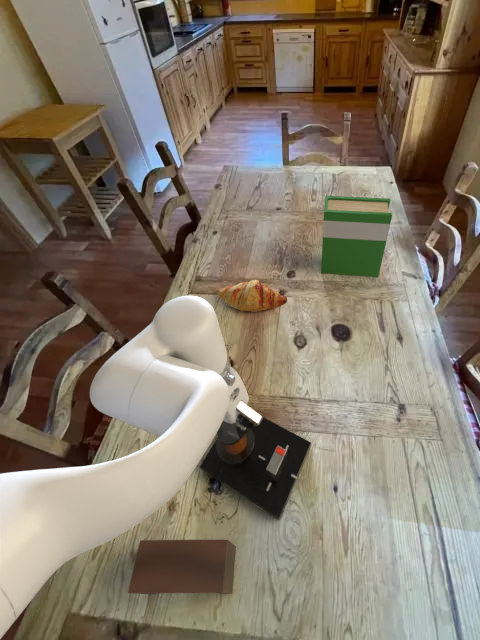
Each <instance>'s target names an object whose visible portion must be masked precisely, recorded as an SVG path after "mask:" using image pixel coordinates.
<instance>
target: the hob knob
mask: <svg viewBox="0 0 480 640" xmlns="http://www.w3.org/2000/svg"><path fill="white" fill-rule="evenodd" d="M287 459H288V458H287V450H285V449H283V448H281V447H280V446H277V447H276V450H275V452H274V454H273V456H272V458H271V460H270V462H269V464H268V466H267V468H266V471H267V474H268V477H270V478H272V479H273V480H275V481H278V478H279V476H280V474H281V472H282V470H283V467H284V465H285V463H286V461H287Z"/></svg>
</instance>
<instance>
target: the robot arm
mask: <svg viewBox="0 0 480 640" xmlns="http://www.w3.org/2000/svg"><path fill="white" fill-rule="evenodd" d="M89 400H90V403H91V404H92V406H93V407H94V409H96V410H97V411H98V412H100V413H101V414H103V415H105V416H108V417H110V418H113V419H115V420H117V421H120V422H123V423H125V424H127V425H130V426H131V427H132V426H133V427H134V428H136V429H137V428H138V429H140V430H143V431H144V432H147V433H149V434H152V435H154V436H157V438H156V439H155V440H153V441H152V442H150V443H149V444H148V445H146V446H144V447H142V448H141V449H139V450H136V451H134V452H132V453H130V454H128V455H125V456H122V457H119V458H116V459H113V460H109V461H105V462H100V463H94V464H89V465H83V466H82V465H81V466H71V467H70V466H69V467H57V468H43V469H42V468H41V469H32V470H31V469H30V470H21V471H12V472H11V471H10V472H2V473H0V640H1V639H2V638H3V637H4V635H6V633H7V632H8V631H9V630H10V628H11V627H12V625H13V624H14V623H15V622H16V620H17V619H18V618H19V617H20V615H21V614H23V612H24V611H25V609H26V608H27V607H28V606H29V604H30V603H31V601H32V600H33V599H34V598H35V596H36V595H37V594H38V592H39V591H40V590H41V589H42V587H44V585H45V584H46V583H47V581H48V580H49V579H50V578H51V577H52V576H53V574H54V573H55V572H56V571H58V570H59V568H61V567H62V566H63V565H65V564H66V563H67V562H68V561H70V560H72V559H73V558H76V557H78V556H80V555H82V554H84V553H86V552H89V551H91V550H94V549H96V548H99V547H100V546H102V545H105V544H107V543H109V542H110V541H112V540H114V539H116V538H118V537H120V536H122V535H123V534H125V533H127V532H128V531H130V530H132V529H133V528H134V527H137V526H138V525H139V524H141V523H143V522H144V521H145V520H147V519H148V518H149V517H151V516H152V515H154V514H155V513H156V512H158V511H159V510H160V509H161V508H163V507H164V506H165V505H166V504H167V503H169V501H170V500H171V499H172V498H174V497H175V496H176V495H177V493H179V491H180V490H181V489H182V488H183V487H184V485H186V483H187V481H188V480H189V478H190V477H191V476H192V474H193V473H194V471H195V469H196V467H198V464H199V463H200V461H201V460H202V458H203V456H204V455H205V453H206V452H207V451H208V449H209V447H210V446H211V444H212V442H213V441H214V439H215V437H216V435H217V432H218V430H219V428H220V426H221V424H222V422H223V421H225V422H227V423H230V424H233V423H234V424H235V425H236V426H237V427H236V430H237V433H238V435H239V437H240V438H243V437H244V435H245V433H247V434H248V433H249V432H250V430H251V428H252V429H254V427H256V426H259V424H260V422H261V421H262V419H263V417H264V416H262V415H261V414H260V413H258V412H257V411H255V410H254V409H253V408H252V407H250V406H249V405H248V403H249V400H250V399H249V394H248V391H247V388H246V386H245V384H244V382H243V380H242V378H241V376H240V375H239V373H238V372H237V370H236V369H234V368H233V367H232V366H231V361H230V358H229V355H228V351H227V348H226V344H225V341H224V338H223V334H222V331H221V328H220V324H219V321H218V317H217V314H216V311H215V309H214V307H213V305H211V303H210V302H209V301H208V300H206V299H204V298H203V297H201V296H197V295H181V296H177V297H174V298H172V299H170V300H168V301H166V302H165V303H164V304H163V305H161V307H160V308H159V309H158V310H157V312H156V313H155V315H154V317H153V319H152V321H151V322H150V323H149V325H147V326H146V327H145V328H144V329H143V330H142V331H140V332H139V333H137V335H136V336H134V337H133V338H131V339H130V340H129V341H128V342H127V343H125V344H124V345H123V346H122V347H121V348H119V349H118V350H117V351H116V352H114V353H113V354H112V355H111V356H110V357H109V358H108V359H107V360H106V361H105V362H104V363H103V365H101V367H100V368H99V369H98V371H97V372H96V374H95V375H94V378H93V379H92V381H91V384H90V387H89ZM239 414H242V415H243V416H242V418H241V420H240V421H239V420H238V419H237V418H238V416H239Z"/></svg>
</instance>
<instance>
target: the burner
mask: <svg viewBox="0 0 480 640" xmlns="http://www.w3.org/2000/svg"><path fill="white" fill-rule="evenodd" d="M245 434H246V437H247V444H246V447H245V448H244V450H243V451H242V452H241V453H239V454H236V455H232V454H229V453H228V452H227V451H226V450H225V448H224V446H223V444H222V443H221V441H220V440H219V438H218V436H217V437H216V439H217V440H216V439H215V441H216V451H217V454H218V456H219V457H220V459H221V460H222V461H224V462H225V463H227V464H239V463H241V462H243V461H245V460H246V459H247V458H248V457H249V456H250V455H251V453H252V451H253V448H254V444H255V438H254V434H253V431H252V429H251V430H250V432H249V433H248V434H247V433H245Z"/></svg>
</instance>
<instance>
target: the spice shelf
mask: <svg viewBox="0 0 480 640" xmlns="http://www.w3.org/2000/svg"><path fill="white" fill-rule="evenodd" d="M236 551H237V546H236V545H235V544H234V543H233V542H231V541H230V540H229V539H228V538H227V539H226V538H225V539H224V538H221V539H219V538H218V539H217V538H213V539H211V538H210V539H140V540H139V543H138V548H137V552H136V556H135V561H134V565H133V569H132V573H131V578H130V582H129V586H128V590H127V594H135V595H136V594H137V595H156V594H224V595H232V594H233V593H234V591H233V590H234V580H235V579H234V578H235V567H236V566H235V565H236Z"/></svg>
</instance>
